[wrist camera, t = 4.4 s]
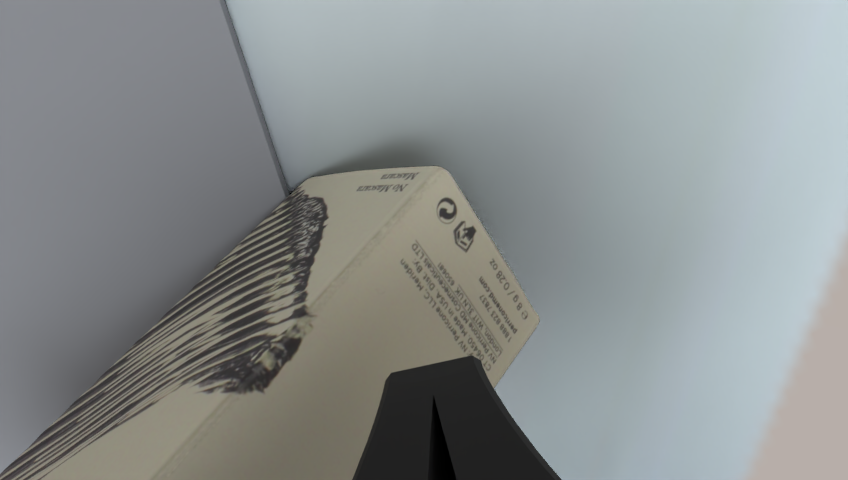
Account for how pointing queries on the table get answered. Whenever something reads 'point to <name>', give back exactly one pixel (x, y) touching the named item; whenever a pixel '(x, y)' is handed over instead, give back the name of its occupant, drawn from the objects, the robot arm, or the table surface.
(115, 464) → the box
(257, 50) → the table surface
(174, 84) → the mat
